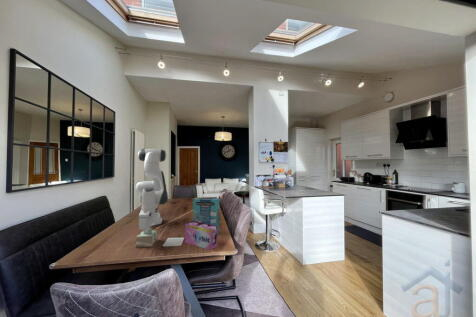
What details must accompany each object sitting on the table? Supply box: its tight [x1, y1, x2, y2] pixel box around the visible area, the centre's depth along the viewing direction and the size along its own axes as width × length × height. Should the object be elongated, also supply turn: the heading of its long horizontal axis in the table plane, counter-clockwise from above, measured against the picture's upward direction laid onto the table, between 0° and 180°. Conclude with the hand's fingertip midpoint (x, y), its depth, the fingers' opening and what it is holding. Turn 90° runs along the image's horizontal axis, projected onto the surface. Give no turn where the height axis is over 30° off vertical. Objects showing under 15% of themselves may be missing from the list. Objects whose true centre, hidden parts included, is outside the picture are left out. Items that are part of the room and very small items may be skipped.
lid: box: [138, 228, 158, 237], centre depth 134 cm, size 10×9×4 cm
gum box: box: [184, 220, 218, 251], centre depth 133 cm, size 24×8×14 cm, turn 60°
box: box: [135, 229, 159, 248], centre depth 134 cm, size 12×10×7 cm
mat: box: [162, 237, 185, 247], centre depth 136 cm, size 14×12×1 cm
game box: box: [192, 197, 220, 235], centre depth 157 cm, size 20×6×27 cm, turn 84°
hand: (147, 231), depth 134 cm, fingers closed on lid, 2 cm apart
